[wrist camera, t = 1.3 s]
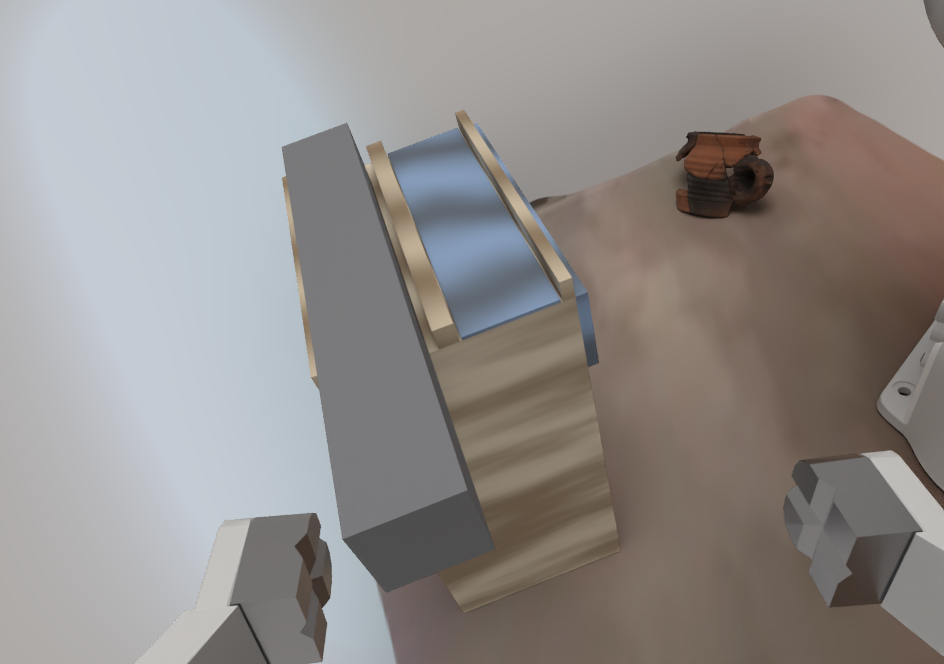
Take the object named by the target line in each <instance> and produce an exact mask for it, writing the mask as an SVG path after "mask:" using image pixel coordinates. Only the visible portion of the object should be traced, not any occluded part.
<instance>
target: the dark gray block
mask: <svg viewBox="0 0 944 664" xmlns="http://www.w3.org/2000/svg"><path fill="white" fill-rule="evenodd" d="M282 152H283V158H284V165H285V171H286V178H287V184H288V191H289V197H290V203H291V210H292V216H293V223H294V229H295V236H296V242H297V249H298V255H299V262H300V268H301V275H302V281H303V287H304V294H305V300H306V307H307V313H308V320H309V326H310V333H311V339H312V346H313V352H314V359H315V365H316V371H317V378H318V384H319V391H320V397H321V404H322V410H323V417H324V423H325V429H326V436H327V443H328V449H329V455H330V462H331V468H332V475H333V481H334V488H335V494H336V500H337V507H338V514H339V519H340V526H341V532H342V539H343V540H344V542H345V543H346V544H347V545H348V547H349V548H350V549H351V550H352V552H353V553H354V554H355V555H356V556H357V558H358V559H359V560H360V561H361V563H362V564H363V565H364V566H365V567H366V569H367V570H368V571H369V572H370V573H371V575H372V576H373V577H374V578H375V580H376V581H377V582H378V583H379V584H380V586H381V587H382V588H383V589H384V591H385V592H389V591H392V590H394V589H397V588H399V587H402V586H404V585H407V584H409V583H412V582H414V581H417V580H419V579H422V578H424V577H427V576H429V575H432V574H434V573H437V572H439V571H442V570H445V569H447V568H450V567H452V566H455V565H457V564H460V563H462V562H465V561H467V560H470V559H472V558H475V557H477V556H480V555H482V554H485V553H487V552H490V551H493V550H495V546H494V543H493V540H492V537H491V534H490V531H489V528H488V525H487V522H486V519H485V516H484V513H483V511H482V508H481V505H480V502H479V499H478V496H477V493H476V490H475V487H474V484H473V481H472V478H471V475H470V472H469V469H468V466H467V463H466V460H465V457H464V454H463V451H462V449H461V446H460V443H459V440H458V437H457V434H456V431H455V428H454V425H453V422H452V419H451V416H450V413H449V410H448V407H447V404H446V401H445V398H444V395H443V392H442V390H441V387H440V384H439V381H438V378H437V375H436V372H435V369H434V366H433V363H432V360H431V357H430V354H429V351H428V348H427V345H426V342H425V339H424V336H423V333H422V330H421V328H420V325H419V322H418V319H417V316H416V313H415V310H414V307H413V304H412V301H411V298H410V295H409V292H408V289H407V286H406V283H405V280H404V277H403V274H402V271H401V269H400V266H399V263H398V260H397V257H396V254H395V251H394V248H393V245H392V242H391V239H390V236H389V233H388V230H387V227H386V224H385V221H384V218H383V215H382V212H381V209H380V207H379V204H378V201H377V198H376V195H375V192H374V189H373V186H372V183H371V180H370V178H369V175H368V173H367V170H366V168H365V165H364V163H363V161H362V158H361V156H360V154H359V151H358V148H357V146H356V144H355V141H354V139H353V136H352V134H351V131H350V129H349V127H348V124H347V123H345V124H343V125H340V126H337V127H334V128H332V129H329V130H327V131H324V132H321V133H318V134H316V135H313V136H310V137H308V138H305V139H302V140H300V141H297V142H294V143H291V144H289V145H286V146H283V147H282Z"/></svg>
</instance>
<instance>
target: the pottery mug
mask: <svg viewBox="0 0 944 664" xmlns="http://www.w3.org/2000/svg"><path fill="white" fill-rule="evenodd" d="M686 137H687V138H688V142H687V144H686V145H684V146H683V147H682V149H681V150H680V151H679V153H678V155H677V156H676V161H680V160H681V159H682V158H684V157H686V156H687V157H686V159H685V160H684V168H685V170H686V171H687V172H689V173H688V174H687V181H688V190H682V189H678V190H677V191H676V198H677V209H679V210H681V211H684V212H690V213H693V214H698V215H701V216H708V217H709V216H710V217H727V216H728V214H729V209H730V207H731V204H732V202H733V201H734V202H735V203H736V204H737V205H738V206H741V207H744V206H746V205H747V204H748V203H750V202H751V201H756V200H759V199H760V198H762V197H763V196H764V195H765V194H766V193H767V191H768V190H769V189H770V187H771V185H772V183H773V178H774V173H773V169H772V167H771V166H770V164H769V163H768V162H767V161H765V160H763V159H758V157H757V156H758V155H760V154H761V151H760V149H759V142H760V141H761V138H760V137H757V136H753V135H752V136H745V135H744V134H735V133H732V134H731V133H714V132H690V133H688V135H687V136H686ZM732 167H734V174H733V175H732V176H730V177H727V173H726V168H732Z"/></svg>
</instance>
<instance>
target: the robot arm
mask: <svg viewBox="0 0 944 664" xmlns="http://www.w3.org/2000/svg"><path fill="white" fill-rule="evenodd" d="M924 5H925V9H926V14H927V16H928V19H929V22H930V24H931V27H932V29H933V31H934V33H935V35H936V37H937V38H938V40H939V42H940V43H941V45H942V46H943V47H944V0H924ZM899 393H905V394H907V395H908V396H903V395H901V394H899ZM877 409H878V411H879V412H880V414H881V415H882V416H883V417H884V418H885V419H886V420H887V421H888V422H889V423H890V424H892V425H893V426H894V427H895V428H896V429H897V430H899V431H900V432H901V433H902V434H903V435H904V436H905V437H906V439H907V440H908V442H909V443H910V445H911V447H912V449H913V451H914V453H915V455H916V457H917V459H918V460H919V462H920V464H921V465H922V467H923V468H924V470H925V471H926V472H927V474H928V475H929V476H930V477H931V479H932V480H933V481H934V482H935V483H936V484H937V485H938V486H939V487H940V488H941V489H942V490H943V491H944V299H943V301H942V303H941V305H940V307H939V309H938V311H937V313H936V316H935V320H934V322H933V323H932V325H931V326H930V327H929V329H928V330H927V331H926V333H925V334H924V336H923V337H922V338H921V340H920V341H919V342H918V344H917V345H916V347H915V348H914V349H913V351H912V352H911V353H910V355H909V356H908V357H907V359H906V360H905V362H904V363H903V364H902V366H901V367H900V368H899V370H898V371H897V373H896V374H895V375H894V377H893V378H892V379H891V381H890V382H889V384H888V385H887V386H886V388H885V389H884V390H883V392H882V393H881V395H880V397H879V399H878V401H877ZM792 477H793V479H794V481H795V482H796V484H797V485H796V486H795V487H794V488H793V489H791V490H790V491H789V492H788V493H787V494H786V498H785V502H784V507H783V509H784V518H785V524H786V527H787V530H788V533H789V536H790V538H791V540H792V542H793V543H794V545H795V547H796V549H798V550H799V551H801V552H802V553H803V554H805V555H806V556H808V557H809V558H811V559H812V560H811V565H810V569H809V573H810V575H811V576H812V578H813V580H814V582H815V584H816V585H817V587H818V589H819V591H820V593H821V594H822V596H823V598H824V600H825V602H826V603H827V605H828V607H841V606H854V605H866V604H879V603H882V604H881V607H883V608H884V609H885V610H886V611H888V612H889V613H890V614H891V615H893V616H894V617H895V618H896V619H897V620H899V621H900V622H901V623H902V624H904V625H905V626H906V627H907V628H909V629H910V630H911V631H912V632H914V633H915V634H916V635H917V636H919V637H920V638H921V639H922V640H923V641H925V642H926V643H927V644H928V645H930V646H931V647H932V648H933V649H935V650H936V651H937V652H938V653H940V654H941V655H942V656H943V657H944V510H943V508H942V507H941V506H940V505H939V504H938V502H937V501H936V500H935V499H934V497H933V496H932V495H931V494H930V493H929V491H928V490H927V489H926V488H925V486H924V485H923V484H922V483H921V482H920V480H919V479H918V478H917V477H916V475H915V474H914V473H913V472H912V471H911V469H910V468H909V467H908V466H907V464H906V463H905V462H904V461H903V460H902V458H901V457H900V456H899V455H898V454H896V453H895V452H893V451H891V450H890V451H881V452H871V453H862V454H848V455H840V456H832V457H823V458H815V459H807V460H800V461H799V462H798V463H797V464H796V465H795V467H794V470H793V473H792ZM320 528H321V525H320V522H319V520H318V517H317V514H316V513H306V514H295V515H282V516H269V517H256V518H247V519H237V520H225V521H224V522H223V524H222V525H221V526H220V528H219V529H218V532H217V535H216V539H215V542H214V545H213V549H212V553H211V555H210V559H209V562H208V565H207V568H206V572H205V575H204V579H203V582H202V585H201V589H200V592H199V595H198V598H197V602H196V605H195V608H194V610H189V611H185V612H184V613H183V614H182V615H181V616H180V617H179V618H178V619H177V620H176V621H175V622H174V623H173V624H172V625H171V626H170V627H169V628H168V629H167V630H166V631H165V632H164V633H163V634H162V635H161V636H160V638H159V639H158V640H157V641H156V642H155V643H154V644H153V645H152V646H151V647H150V648H149V649H148V650H147V651H146V652H145V653H144V654H143V655H142V656H141V657H140V658H139V659H138V660H137V662H136V663H135V664H310V663H317V662H322V660H323V652H324V643H325V636H326V628H327V622H326V619H325V616H324V613H323V610H322V608H323V606H324V605H325V604H326V603H327V601H328V600H329V599H330V594H331V584H332V568H331V567H332V566H331V559H330V552H329V549H328V546H327V543H326V542H325V541H323V540H321V539H320V538H319V536H320Z"/></svg>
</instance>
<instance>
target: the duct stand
mask: <svg viewBox="0 0 944 664" xmlns="http://www.w3.org/2000/svg"><path fill="white" fill-rule="evenodd" d="M455 115H456V118H457V122H458V125H459V129H460V130H459V129H458V128H455V129H453V130H450V131H447V132H445V133H442V134H439V135H437V136H434V137H431V138H429V139H426V140H423V141H421V142H418V143H415V144H413V145H410V146H407V147H405V148H402V149H399V150H397V151H394V152H391V153H389V154H388V156H389V157H387V155H386V152H385V150H384V147H383V145H382V142H381V141H379V142H376V143H374V144H371V145H368V146H367V147H366V148H367V150H368V153H369V156H370V159H371V162H372V163H370V164H367V165H365V168H366V170H367V173H368V175H369V178H370V180H371V183H372V186H373V189H374V192H375V195H376V198H377V201H378V204H379V207H380V209H381V212H382V215H383V218H384V221H385V224H386V227H387V230H388V233H389V236H390V239H391V242H392V245H393V248H394V251H395V254H396V257H397V260H398V263H399V266H400V269H401V271H402V274H403V277H404V280H405V283H406V286H407V289H408V292H409V295H410V298H411V301H412V304H413V307H414V310H415V313H416V316H417V319H418V322H419V325H420V328H421V330H422V333H423V336H424V339H425V342H426V345H427V348H428V351H429V354H430V357H431V360H432V363H433V366H434V369H435V372H436V375H437V378H438V381H439V384H440V387H441V390H442V392H443V395H444V398H445V401H446V404H447V407H448V410H449V413H450V416H451V419H452V422H453V425H454V428H455V431H456V434H457V437H458V440H459V443H460V446H461V449H462V451H463V454H464V457H465V460H466V463H467V466H468V469H469V472H470V475H471V478H472V481H473V484H474V487H475V490H476V493H477V496H478V499H479V502H480V505H481V508H482V511H483V513H484V516H485V519H486V522H487V525H488V528H489V531H490V534H491V537H492V540H493V543H494V546H495V550H493V551H490V552H487V553H485V554H482V555H480V556H477V557H475V558H472V559H470V560H467V561H465V562H462V563H460V564H457V565H455V566H452V567H450V568H447V569H445V570H442V571H439V572H437V573H438V574H439V576H440V577H441V579H442V580H443V582H444V583H445V585H446V586H447V588H448V589H449V591H450V593H451V594H452V596H453V597H454V599H455V600H456V602H457V603H458V605H459V606H460V608H461V610H462V611H463V613H466V612H469V611H471V610H474V609H476V608H479V607H481V606H484V605H486V604H489V603H491V602H494V601H496V600H499V599H501V598H504V597H506V596H509V595H511V594H514V593H516V592H519V591H521V590H524V589H526V588H529V587H531V586H534V585H536V584H539V583H541V582H544V581H546V580H549V579H551V578H554V577H556V576H559V575H562V574H564V573H567V572H569V571H572V570H574V569H577V568H579V567H582V566H584V565H587V564H589V563H592V562H594V561H597V560H599V559H602V558H604V557H607V556H609V555H612V554H614V553H617V552H619V551H621V549H620V544H619V538H618V532H617V527H616V521H615V516H614V510H613V504H612V499H611V493H610V488H609V482H608V476H607V471H606V465H605V460H604V454H603V448H602V443H601V437H600V432H599V426H598V420H597V415H596V409H595V404H594V398H593V392H592V387H591V381H590V376H589V370H588V367H590V366H592V365H595V364H597V363H599V360H598V354H597V347H596V341H595V335H594V328H593V322H592V316H591V310H590V303H589V297H588V292H587V290H586V289H585V287H584V286H583V284H582V283H581V281H580V280H579V278H578V277H577V275H576V274H575V272H574V270H573V269H572V267H571V266H570V264H569V263H568V261H567V260H566V258H565V257H564V255H563V254H562V252H561V251H560V249H559V248H558V246H557V245H556V243H555V241H554V240H553V238H552V237H551V235H550V234H549V232H548V231H547V229H546V228H545V226H544V225H543V223H542V222H541V220H540V219H539V217H538V215H537V214H536V212H535V211H534V209H533V208H532V206H531V205H530V203H529V202H528V200H527V199H526V197H525V196H524V194H523V193H522V191H521V190H520V188H519V187H518V185H517V183H516V182H515V180H514V179H513V177H512V176H511V174H510V173H509V172H508V170H507V168H506V167H505V165H504V164H503V162H502V161H501V159H500V157H499V156H498V154H497V153H496V151H495V150H494V148H493V147H492V145H491V144H490V142H489V141H488V139H487V138H486V136H485V135H484V133H483V132H482V130H481V129H480V127H479V125H478V124H474V125H473V123H472V122H471V120H470V118H469V117H468V115H467V114H466V113H465V111H464V110H462V111H459V112H457V113H455ZM282 180H283V187H284V194H285V200H286V208H287V215H288V221H289V227H290V235H291V242H292V249H293V256H294V263H295V270H296V277H297V283H298V290H299V297H300V304H301V311H302V317H303V325H304V332H305V339H306V345H307V352H308V359H309V366H310V373H311V378H312V380H313V381H314V383H315V384H316V386H317V387H318V389H319V384H318V378H317V371H316V365H315V359H314V352H313V346H312V339H311V333H310V326H309V320H308V313H307V307H306V300H305V294H304V287H303V281H302V275H301V268H300V262H299V255H298V249H297V242H296V236H295V229H294V223H293V216H292V210H291V203H290V197H289V191H288V184H287V178H286V176H285V177H283V178H282Z"/></svg>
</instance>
